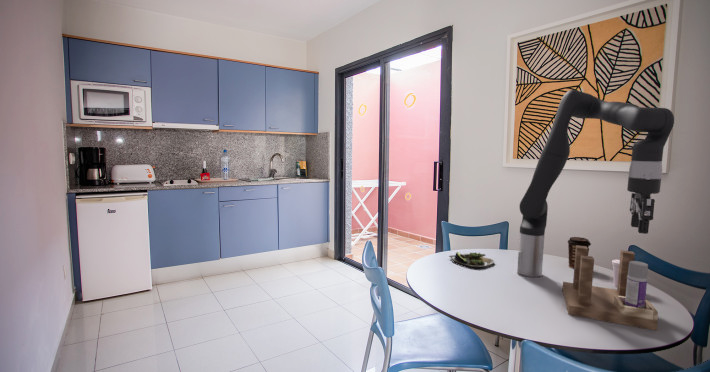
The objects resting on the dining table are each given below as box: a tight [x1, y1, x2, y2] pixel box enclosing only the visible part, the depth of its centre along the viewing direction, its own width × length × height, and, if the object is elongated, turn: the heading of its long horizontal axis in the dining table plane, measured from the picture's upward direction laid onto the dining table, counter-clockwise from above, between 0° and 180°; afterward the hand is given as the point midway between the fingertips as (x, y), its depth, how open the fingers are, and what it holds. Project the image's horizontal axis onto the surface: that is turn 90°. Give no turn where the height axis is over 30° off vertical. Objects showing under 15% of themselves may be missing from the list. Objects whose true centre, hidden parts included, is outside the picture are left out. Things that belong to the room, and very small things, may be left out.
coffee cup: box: [567, 236, 592, 269], centre depth 154 cm, size 9×8×13 cm
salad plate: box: [448, 251, 495, 270], centre depth 162 cm, size 19×18×5 cm
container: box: [625, 260, 649, 309], centre depth 106 cm, size 5×5×15 cm
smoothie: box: [611, 259, 620, 288], centre depth 133 cm, size 6×6×14 cm
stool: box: [561, 245, 659, 332], centre depth 115 cm, size 22×22×18 cm
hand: (638, 230), depth 105 cm, fingers open, 8 cm apart
